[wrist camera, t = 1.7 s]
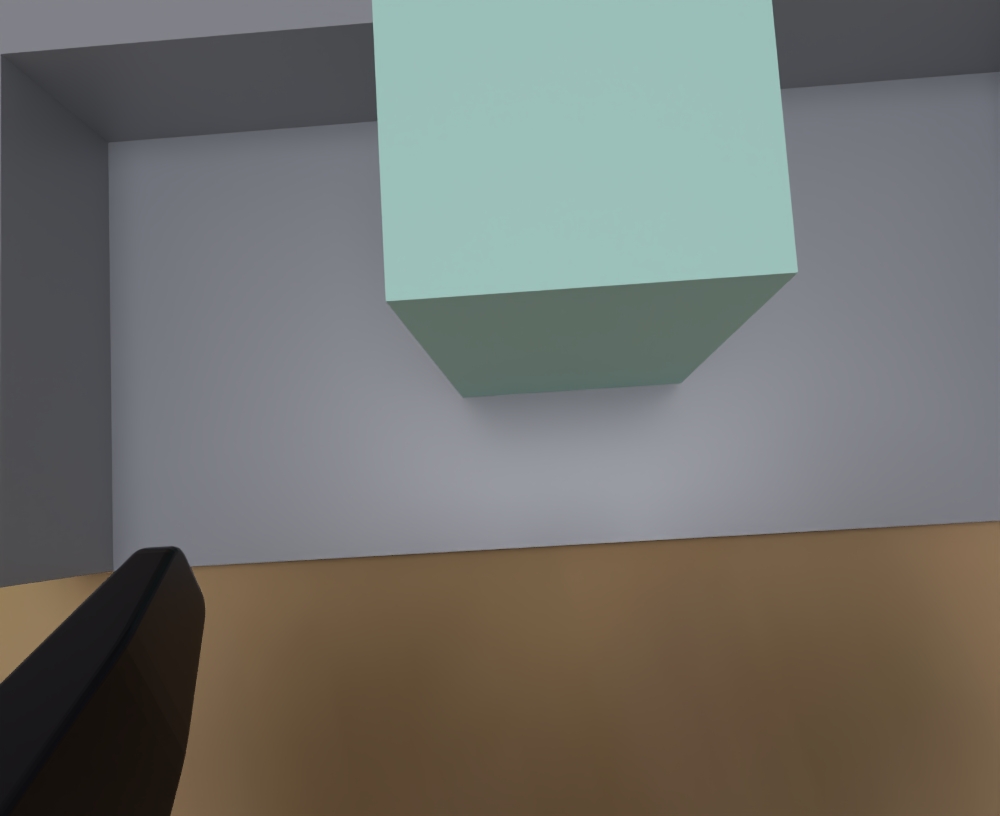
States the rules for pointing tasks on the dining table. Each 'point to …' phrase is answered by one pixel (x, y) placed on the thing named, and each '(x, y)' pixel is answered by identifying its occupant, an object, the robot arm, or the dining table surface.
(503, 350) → the green block
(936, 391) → the open crate
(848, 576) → the dining table surface
